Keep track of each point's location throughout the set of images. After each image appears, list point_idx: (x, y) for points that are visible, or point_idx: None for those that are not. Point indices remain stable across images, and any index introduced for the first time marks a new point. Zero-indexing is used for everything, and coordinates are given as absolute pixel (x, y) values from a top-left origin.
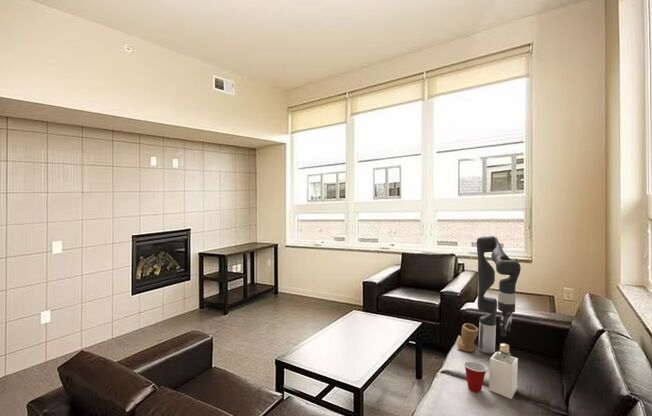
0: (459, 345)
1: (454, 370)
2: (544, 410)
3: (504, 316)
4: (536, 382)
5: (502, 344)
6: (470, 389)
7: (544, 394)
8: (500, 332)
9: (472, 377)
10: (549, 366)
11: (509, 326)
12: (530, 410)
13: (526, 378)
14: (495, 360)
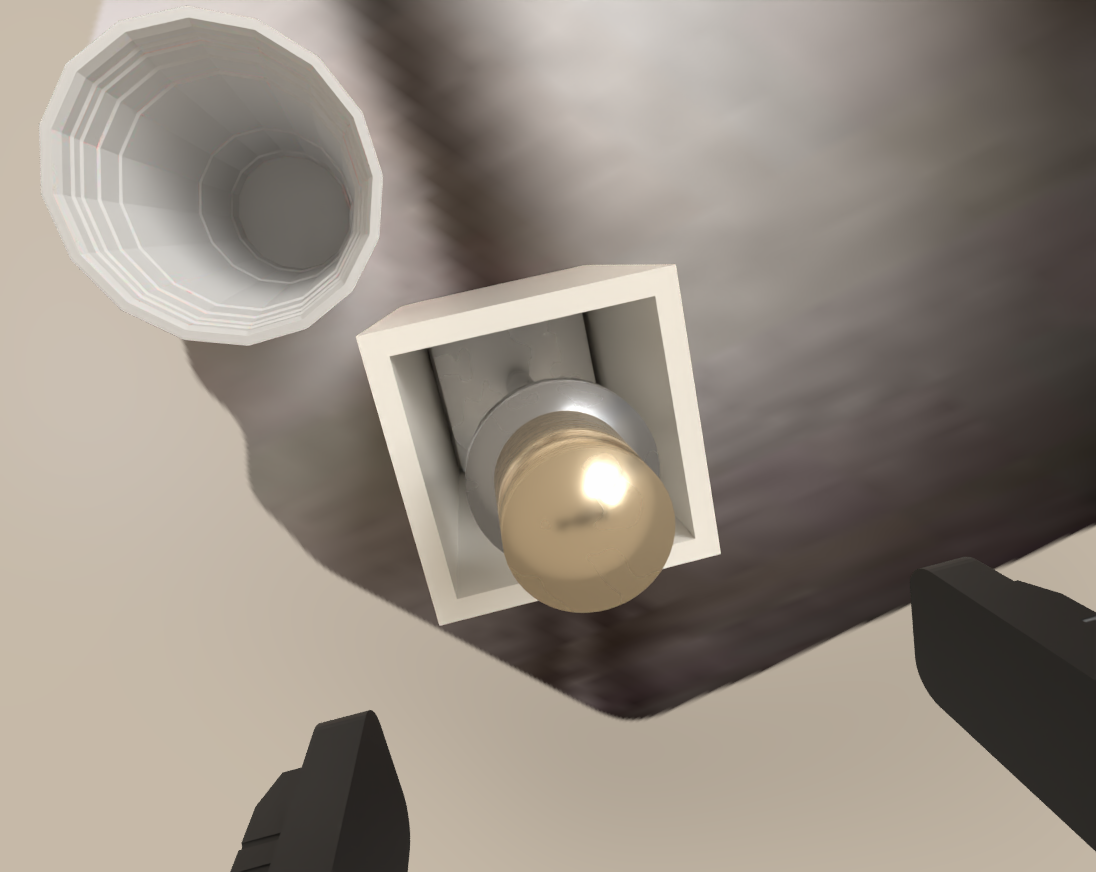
0: None
1: None
2: (516, 669)
3: None
4: (868, 473)
5: (575, 496)
6: (233, 202)
7: (732, 582)
8: (293, 803)
9: (147, 223)
10: None
11: (1066, 808)
12: (426, 622)
13: (873, 399)
14: (379, 411)
